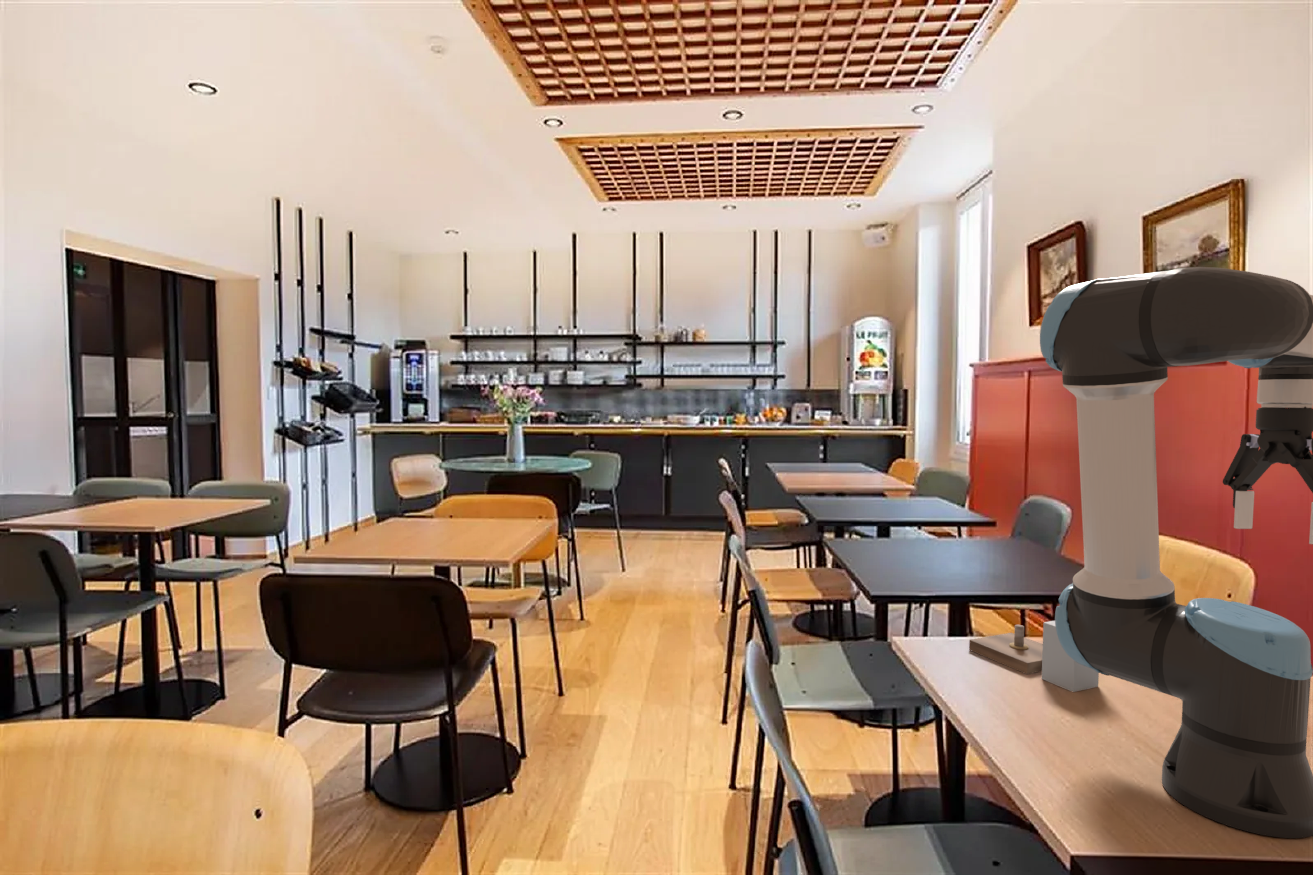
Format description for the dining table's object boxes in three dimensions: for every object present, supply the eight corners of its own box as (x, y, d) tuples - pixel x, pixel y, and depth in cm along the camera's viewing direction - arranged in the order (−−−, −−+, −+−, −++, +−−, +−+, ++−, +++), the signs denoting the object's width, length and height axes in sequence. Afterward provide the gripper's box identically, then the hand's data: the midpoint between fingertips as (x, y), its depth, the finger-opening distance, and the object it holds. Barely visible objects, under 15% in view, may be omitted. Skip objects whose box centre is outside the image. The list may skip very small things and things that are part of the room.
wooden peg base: (1027, 674, 126) (1028, 640, 126) (969, 650, 138) (970, 619, 138) (1070, 665, 130) (1071, 632, 130) (1010, 642, 142) (1011, 612, 142)
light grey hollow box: (1073, 692, 118) (1075, 633, 118) (1041, 678, 124) (1043, 622, 123) (1098, 686, 121) (1100, 628, 120) (1065, 673, 126) (1067, 618, 126)
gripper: (1391, 407, 104) (1381, 552, 105) (1241, 406, 129) (1235, 522, 130) (1342, 406, 103) (1333, 552, 104) (1202, 405, 128) (1195, 522, 129)
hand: (1279, 536), depth 117 cm, fingers open, 13 cm apart
